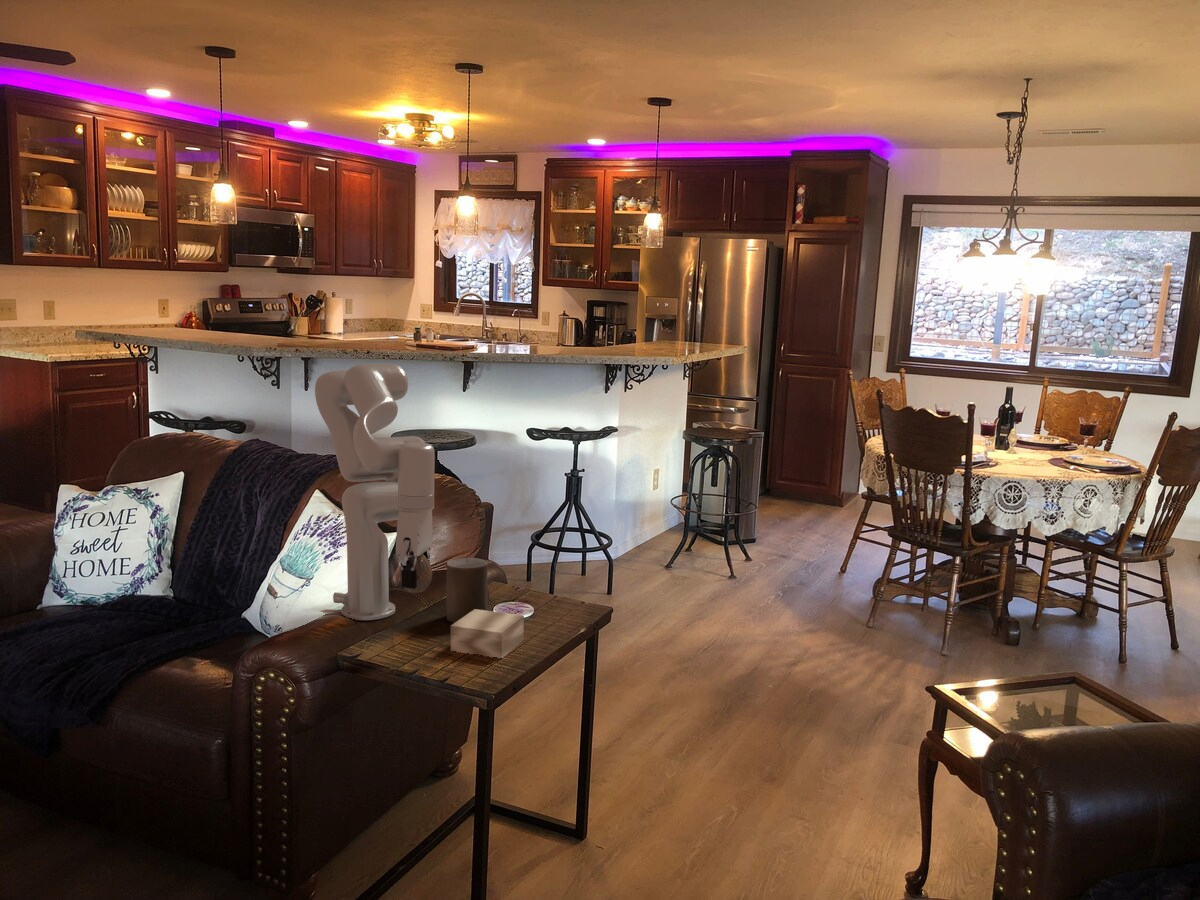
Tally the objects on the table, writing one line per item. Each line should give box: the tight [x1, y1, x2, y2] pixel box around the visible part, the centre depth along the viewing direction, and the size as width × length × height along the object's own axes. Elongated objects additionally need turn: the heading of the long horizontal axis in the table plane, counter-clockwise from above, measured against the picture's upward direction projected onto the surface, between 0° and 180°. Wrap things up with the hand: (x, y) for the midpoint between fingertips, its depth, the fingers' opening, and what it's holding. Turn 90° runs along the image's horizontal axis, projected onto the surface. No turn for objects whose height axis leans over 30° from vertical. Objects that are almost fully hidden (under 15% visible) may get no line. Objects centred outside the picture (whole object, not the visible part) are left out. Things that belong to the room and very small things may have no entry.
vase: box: [398, 553, 433, 594], centre depth 204 cm, size 7×7×9 cm
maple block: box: [450, 609, 525, 659], centre depth 209 cm, size 12×12×6 cm
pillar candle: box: [445, 557, 489, 624], centre depth 226 cm, size 10×10×15 cm
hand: (415, 581), depth 205 cm, fingers closed on vase, 6 cm apart
